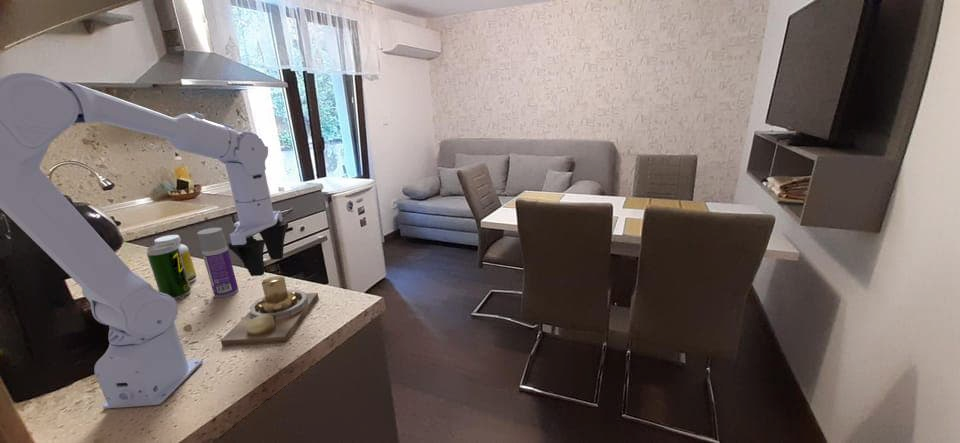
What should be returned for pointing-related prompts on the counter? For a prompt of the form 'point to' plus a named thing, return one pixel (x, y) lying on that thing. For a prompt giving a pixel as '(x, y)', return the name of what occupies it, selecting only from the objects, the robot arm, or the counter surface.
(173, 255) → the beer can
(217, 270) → the container
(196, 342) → the counter surface
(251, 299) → the counter surface
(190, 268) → the pill bottle
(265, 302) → the planet gear
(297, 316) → the carrier board
